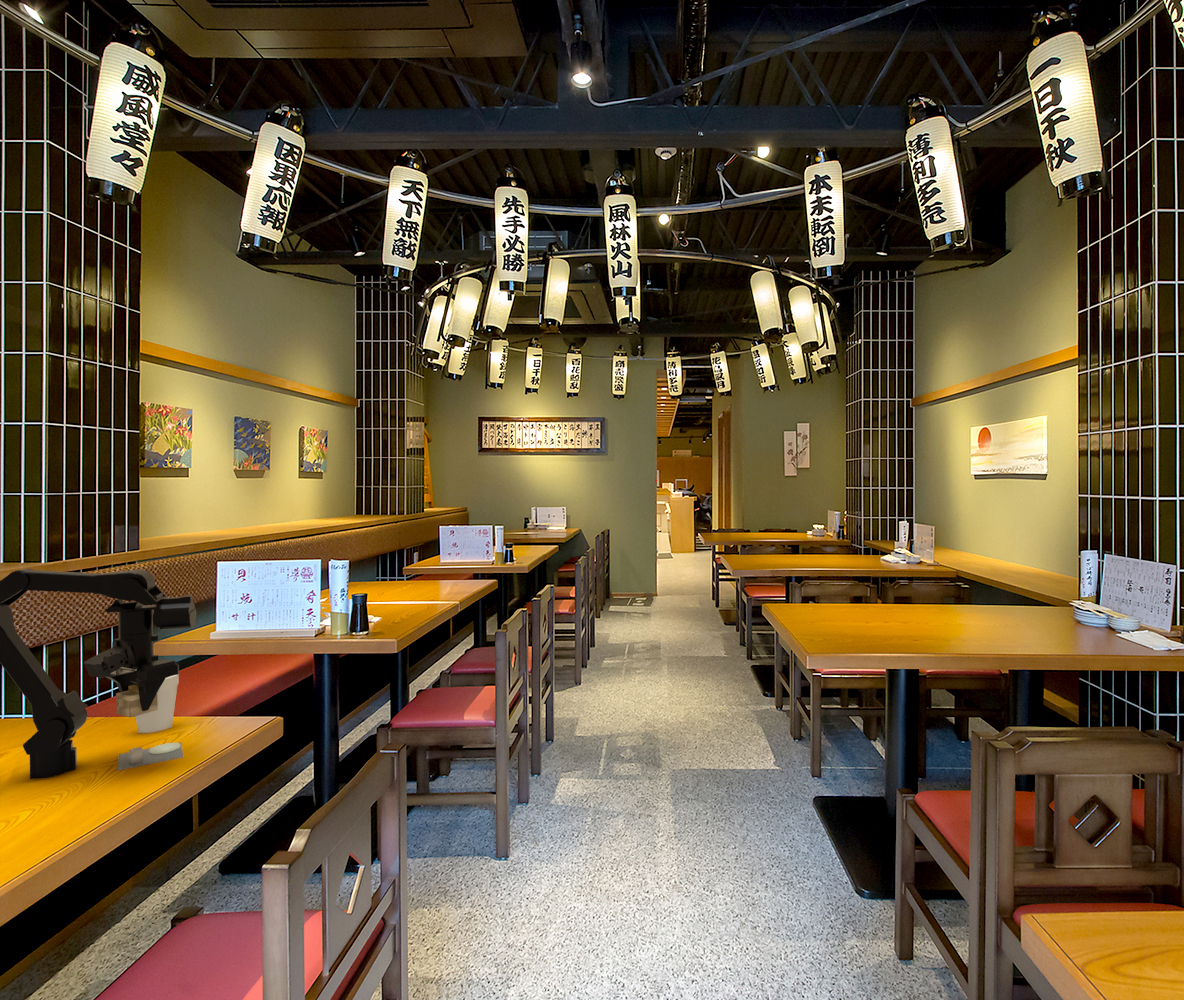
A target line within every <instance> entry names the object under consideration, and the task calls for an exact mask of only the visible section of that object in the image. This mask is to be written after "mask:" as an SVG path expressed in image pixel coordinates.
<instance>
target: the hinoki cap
mask: <svg viewBox="0 0 1184 1000" xmlns="http://www.w3.org/2000/svg"><path fill="white" fill-rule="evenodd" d="M128 689H129V690H128V691H124V692H120V691H119V692H117V693H115V696H116V699H115V700H116V715H118V716H123V717H128V718H134V717H135V716H138V715H142V714H145V713H148V712H152V711H155V710H158V702H157V694H156V696H155V698H154V700H153V702H152V704H151V706H150V708H149V710H146V711H142V709H141V704H140V697H139V690H138V686H137V685H131V686H128ZM135 718H136V717H135Z"/></svg>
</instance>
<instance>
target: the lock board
mask: <svg viewBox="0 0 1184 1000" xmlns="http://www.w3.org/2000/svg"><path fill="white" fill-rule="evenodd" d="M181 758H184V752H183V746H182V742H168V743H163V744H159V745H156V746H153V747H151V748H146V749H143V747H133V748H131V749H129V751H128V752H125V753H121V754H118V760H117V769H116V770H117V772H118V771H124V770H128V769H133V768H138V767H143V766H148V765H153V764H156V763H161V762H166V761H171V760H177V759H181Z"/></svg>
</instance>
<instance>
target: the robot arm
mask: <svg viewBox="0 0 1184 1000" xmlns="http://www.w3.org/2000/svg"><path fill="white" fill-rule="evenodd" d="M28 591H34V592H35V591H37V592H57V593H81V594H82V593H83V594H85V593H86V594H95V595H100V596H103V597H106V598H109V599H114V601H113V602H112V604H111V605H110V606H108V607H107V608H105V610H104V611H105V613H117V615H118V620H117V621H118V638H114V639H113V641H112V642H111V643H112V645H111V647H110V648H109V649H107V650H104V651H102V652H100V653H98V654H96V655H95V656H92V657H90V658H89V659H87V660H85V661H84V663H83V664H84V666H85V668H86V670H87V673H88V675H89V676H90V677H91V678H93V677H94V678H98V679H104V678H106V679H108V680H110V681H112V682H114V683H115V684H116V686H117V689H118V690H119V693H120V692H124V691H128V690H129V689H128V686H131V685H137V686H138V690H139V697H140V704H141V709H142V711H146V710H149V708H150V706H151V704H152V702H153V700H154V698H155V696H156V694H157V692H158V690H159V688H160V687H161V685H162V683H163V682H164V680H165V678H167V677H169V676H173V675H177V674H179V675H180V664H179V663H178V662H177V661H174V660H170V659H160V660H159V655H157V654H154V642H155V641H158V640H159V635H157V634H154V626H155V627H156V628H159V630H160V631H175V630H186V629H194V627H195V625H196V621H197V609H196V606H195V602H194V600H193V599H194V598H193V595H192V594H191V595H184V596H183V595H182V596H175V597H174V596H173V597H168V596H167V595H166V594H165V593H164V592H163V591H162V590H161V589H160V588H159V586H158V585H157V584H156V580H155V577H154V575H152V573H151V572H150V571H148V570H145V569H133V570H132V569H130V570H120V571H114V572H105V573H103V572H102V573H97V572H95V573H94V572H78V571H76V572H75V571H58V570H57V571H56V570H38V569H37V570H36V569H32V568H23V569H19V570H14V571H12V572H10V573H9V574H8V575H7V576H4V577H3V578H2V579H1V580H0V665H1V666H2V668H3V669H4V670H5V672H6V673H7V674H8V675H9V677H10V678H11V679H12V681H13V682H14V683H15V685H16V687H17V688H18V689H19V690H20V692H21V694H23V695H24V697H25V698H26V700H27V701H28V703H29V704H30V707H31V715H32V721H33V723H34V726H35V728H36V731H35V733H34V734H33V735H32V736H31V737H30V738H28V739H27V740H26V741H25V742H24V743H23V744H22V748H23V750H24V751H25V754H26V755H27V756H28V755H29V780H34V779H35V780H36V779H37V780H40V779H49V778H53V777H57V776H61V775H63V774H66V773H70V772H72V771H76V770H77V766H78V764H77V763H78V762H77V761H78V760H77V758H78V757H77V755H78V754H77V746H73V744H74V743H73V739H74V737H76V734H77V731H78V730H80V729H81V728H82V727H83V726H84V725H85V723H86V720H87V719H88V710H87V709H86V708H87V707H88V704H86V703H85V702H84V701H83V700H82V699H81V697H80V694H79V693H78V691H77V690H76V689H75V690H72V691H71V692H70V693H67V692H65V691H63V690H61V689H59V688H58V687H57V685H56V684H55V682H54V681H53V680H52V678H51V677H50V676H49V675H48V673H47V671H46V670H45V669H44V667H43V666H42V665H41V664H40V662H39V661H38V659H37V658H36V656H35V655H34V654H33V652H32V651H31V650H30V648H29V647H28V645H26V643H25V641H24V640H23V639H22V638H21V636H20V635H19V633H18V632H17V631H16V628H15V620H14V615H13V612H12V609H11V608H10V606H11V605H12V604H14V603H16V602H17V601H18V600H19V599H20V598H21V597H23V596H25V594H26V593H27V592H28ZM125 601H126V602H125ZM72 738H73V739H72Z"/></svg>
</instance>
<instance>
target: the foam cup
mask: <svg viewBox="0 0 1184 1000" xmlns="http://www.w3.org/2000/svg"><path fill="white" fill-rule="evenodd" d="M179 676H180V673H179V674H177V675H173V676H169V677H167V678H165V680H164V682H163V683H162V685H161V687H160V688H159V690H158V692H157V702H158V710H155V711H152V712H148V713H145V714H142V715H138V716H135V721H136V727H137V733H138V734H151V733H156V732H162V731H164V730H167V729H171V728H172V727H173V723H174V716H175V715H174V713H175V706H176V698H177V692H178V685H179V684H180V682H179V681H180V680H179V679H180V678H179Z"/></svg>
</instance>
